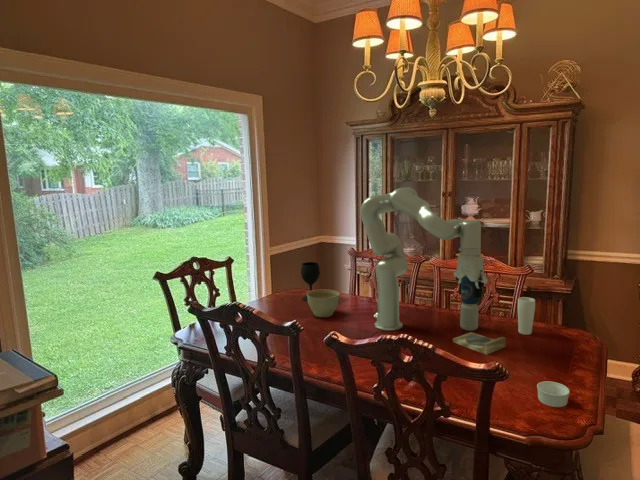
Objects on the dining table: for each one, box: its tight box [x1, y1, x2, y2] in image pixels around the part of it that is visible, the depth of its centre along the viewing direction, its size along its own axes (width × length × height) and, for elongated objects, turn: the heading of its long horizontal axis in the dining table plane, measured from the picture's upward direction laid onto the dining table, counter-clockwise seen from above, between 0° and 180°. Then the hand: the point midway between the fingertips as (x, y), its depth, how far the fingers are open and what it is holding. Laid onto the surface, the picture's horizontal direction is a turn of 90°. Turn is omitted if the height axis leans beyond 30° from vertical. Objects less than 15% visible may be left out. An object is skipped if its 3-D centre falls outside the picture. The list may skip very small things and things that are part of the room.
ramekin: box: [536, 380, 571, 408], centre depth 138 cm, size 9×9×4 cm
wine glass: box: [300, 261, 321, 302], centre depth 250 cm, size 10×10×20 cm
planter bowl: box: [306, 289, 340, 318], centre depth 223 cm, size 16×16×11 cm
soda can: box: [460, 275, 480, 305], centre depth 179 cm, size 7×7×12 cm
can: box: [459, 301, 479, 332], centre depth 199 cm, size 8×8×12 cm
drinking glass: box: [517, 296, 536, 336], centre depth 192 cm, size 7×7×15 cm
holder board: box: [452, 331, 507, 356], centre depth 182 cm, size 16×12×4 cm
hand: (470, 295), depth 180 cm, fingers closed on soda can, 7 cm apart
